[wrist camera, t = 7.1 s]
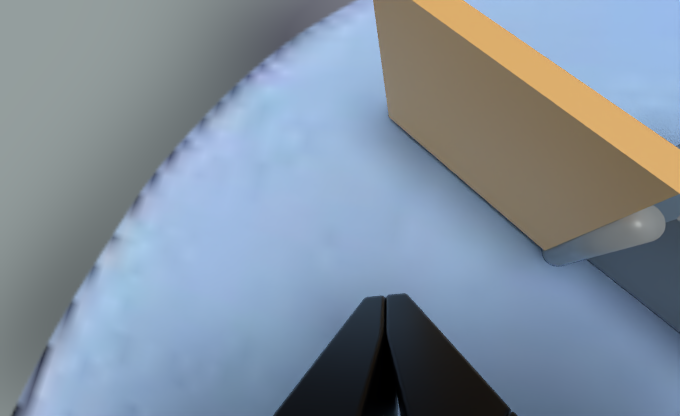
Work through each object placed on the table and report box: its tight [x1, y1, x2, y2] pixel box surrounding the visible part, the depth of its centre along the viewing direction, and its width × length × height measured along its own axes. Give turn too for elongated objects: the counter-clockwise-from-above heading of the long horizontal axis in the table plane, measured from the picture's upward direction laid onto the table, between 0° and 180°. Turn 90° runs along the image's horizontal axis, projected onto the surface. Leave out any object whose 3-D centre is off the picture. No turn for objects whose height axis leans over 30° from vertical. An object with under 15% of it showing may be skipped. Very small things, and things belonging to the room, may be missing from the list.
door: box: [373, 0, 680, 266], centre depth 12 cm, size 9×1×8 cm, turn 43°
